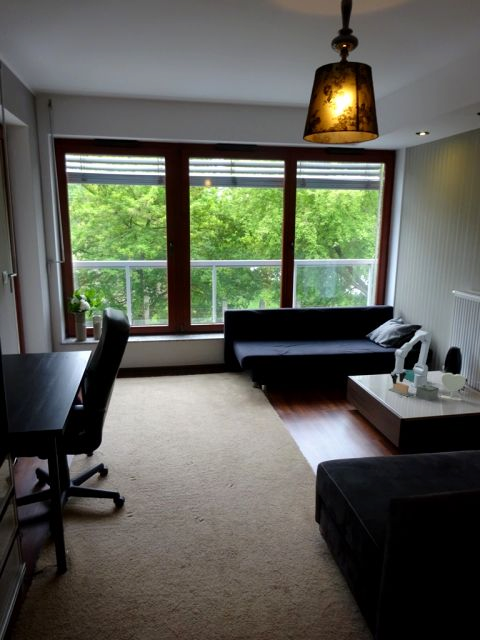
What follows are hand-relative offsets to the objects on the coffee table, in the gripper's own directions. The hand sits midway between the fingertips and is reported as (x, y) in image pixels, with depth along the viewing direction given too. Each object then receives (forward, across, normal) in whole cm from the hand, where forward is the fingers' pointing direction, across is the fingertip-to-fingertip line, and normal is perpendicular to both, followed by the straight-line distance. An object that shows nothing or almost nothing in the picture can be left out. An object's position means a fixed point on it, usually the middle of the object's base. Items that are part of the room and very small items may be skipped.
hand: (397, 382), depth 337 cm
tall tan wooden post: (+6, 0, +3) cm, 6 cm away
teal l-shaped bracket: (+7, -35, -12) cm, 38 cm away
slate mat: (+6, 0, +4) cm, 7 cm away
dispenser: (+6, -9, +19) cm, 22 cm away
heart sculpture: (+7, -23, +29) cm, 38 cm away
